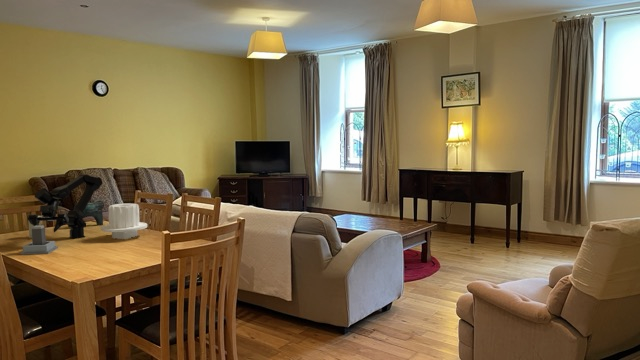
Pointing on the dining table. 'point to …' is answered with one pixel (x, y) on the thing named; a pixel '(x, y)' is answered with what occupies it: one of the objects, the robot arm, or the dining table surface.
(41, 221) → the skincare box
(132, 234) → the ribbed cylinder on disc
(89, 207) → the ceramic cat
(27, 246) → the socket holder
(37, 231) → the dark gray plug block
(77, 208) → the robot arm
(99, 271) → the dining table surface
